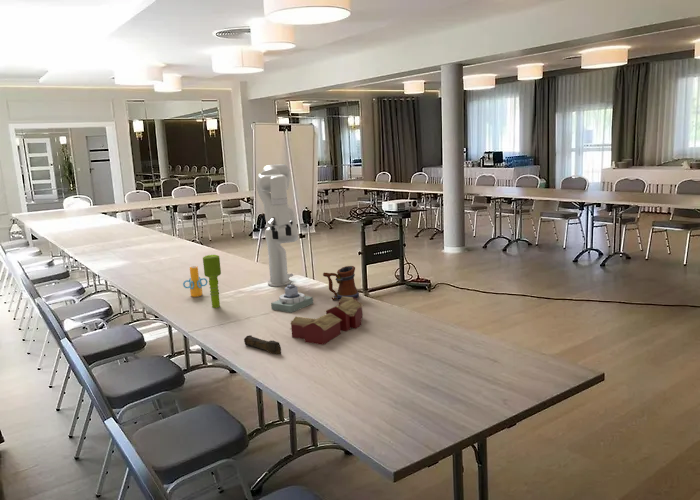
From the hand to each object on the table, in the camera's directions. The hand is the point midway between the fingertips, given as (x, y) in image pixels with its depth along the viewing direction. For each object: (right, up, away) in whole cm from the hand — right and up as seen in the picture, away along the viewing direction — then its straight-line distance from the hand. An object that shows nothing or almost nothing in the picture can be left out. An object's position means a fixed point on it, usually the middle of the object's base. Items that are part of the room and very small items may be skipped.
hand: (282, 237), depth 280 cm
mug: (+29, -30, 0) cm, 41 cm away
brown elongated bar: (+1, -44, -62) cm, 76 cm away
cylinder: (-46, -30, +19) cm, 58 cm away
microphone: (-31, -33, -3) cm, 46 cm away
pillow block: (+6, -32, -9) cm, 34 cm away
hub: (+6, -29, -9) cm, 31 cm away
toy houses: (+27, -38, -38) cm, 60 cm away
